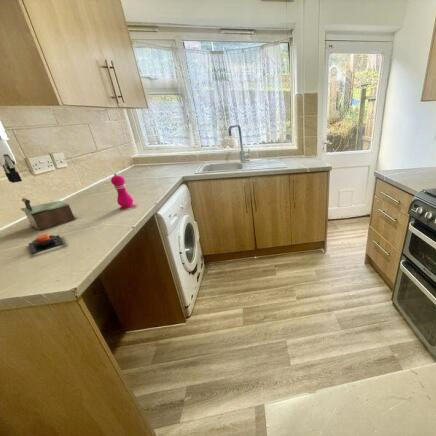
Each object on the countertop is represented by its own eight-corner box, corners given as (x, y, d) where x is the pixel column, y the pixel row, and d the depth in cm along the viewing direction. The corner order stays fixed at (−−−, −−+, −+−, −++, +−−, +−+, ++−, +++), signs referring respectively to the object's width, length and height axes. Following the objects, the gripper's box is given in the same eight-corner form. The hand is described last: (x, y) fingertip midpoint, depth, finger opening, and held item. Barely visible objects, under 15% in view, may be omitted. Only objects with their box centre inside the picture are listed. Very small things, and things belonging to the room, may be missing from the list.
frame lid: (29, 214, 106) (23, 202, 104) (20, 210, 112) (15, 198, 110) (69, 205, 118) (65, 194, 116) (60, 201, 123) (56, 190, 121)
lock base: (65, 248, 95) (61, 239, 94) (33, 258, 89) (28, 248, 87) (60, 239, 102) (56, 231, 100) (31, 248, 96) (26, 239, 94)
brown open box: (39, 230, 110) (32, 215, 107) (31, 225, 116) (23, 210, 113) (75, 220, 121) (69, 205, 118) (66, 215, 126) (60, 201, 123)
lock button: (51, 239, 94) (49, 235, 93) (38, 243, 92) (36, 239, 91) (49, 237, 96) (47, 233, 96) (37, 240, 94) (35, 236, 93)
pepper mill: (121, 207, 136) (108, 172, 127) (136, 205, 138) (124, 170, 130) (119, 212, 130) (105, 175, 121) (134, 209, 132) (122, 173, 124)
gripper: (-25, 137, 99) (-2, 181, 106) (-16, 138, 91) (8, 186, 98) (2, 135, 105) (22, 177, 112) (13, 136, 97) (33, 181, 104)
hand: (15, 181), depth 105 cm, fingers closed
